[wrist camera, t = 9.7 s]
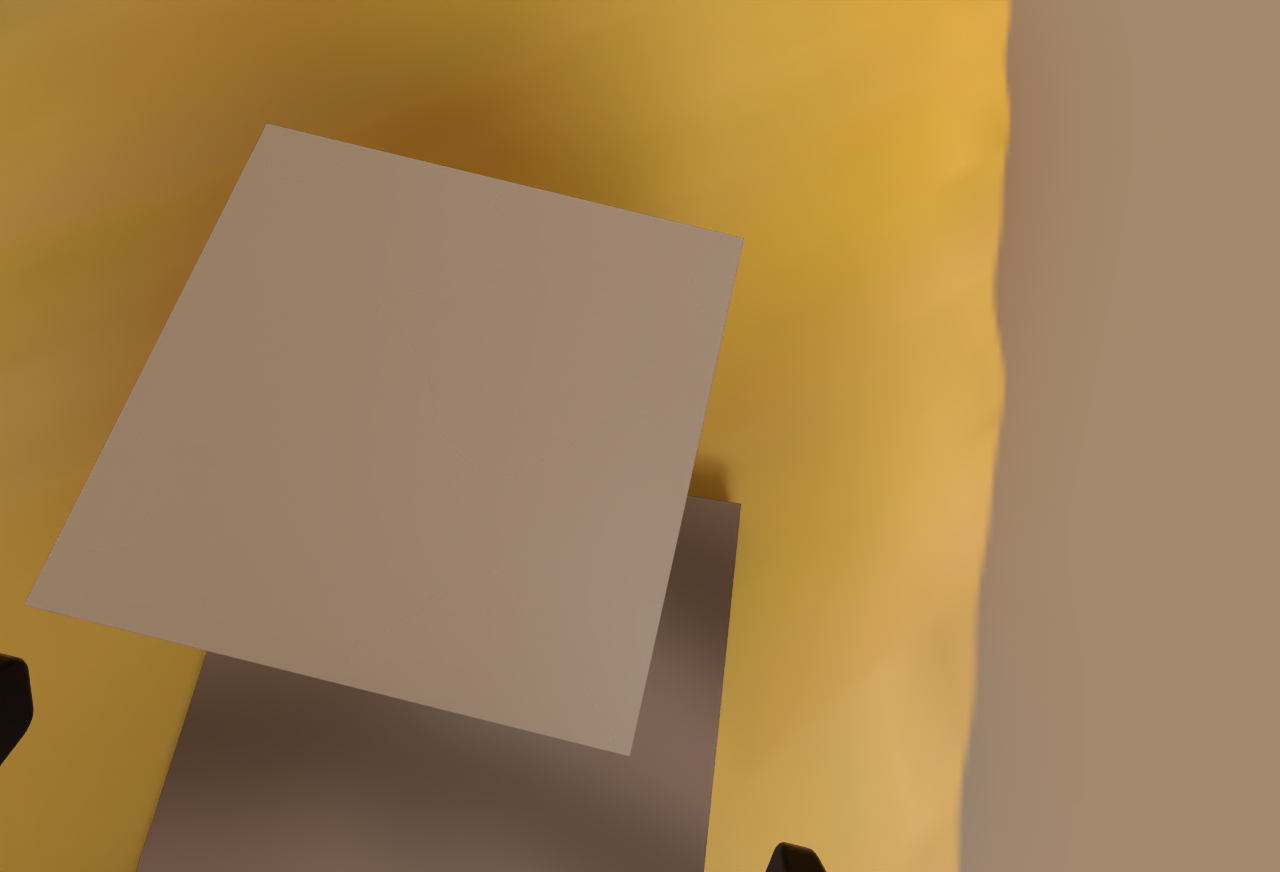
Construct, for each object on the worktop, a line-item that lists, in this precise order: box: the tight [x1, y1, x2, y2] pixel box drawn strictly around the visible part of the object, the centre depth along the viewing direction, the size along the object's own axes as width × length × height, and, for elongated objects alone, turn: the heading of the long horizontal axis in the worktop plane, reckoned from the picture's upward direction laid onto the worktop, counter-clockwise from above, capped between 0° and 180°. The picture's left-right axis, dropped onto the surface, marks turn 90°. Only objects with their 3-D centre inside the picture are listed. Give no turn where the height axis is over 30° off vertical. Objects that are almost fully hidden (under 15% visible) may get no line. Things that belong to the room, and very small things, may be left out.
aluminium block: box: [24, 123, 744, 756], centre depth 13 cm, size 5×5×13 cm
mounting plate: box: [136, 495, 741, 872], centre depth 18 cm, size 16×12×1 cm
